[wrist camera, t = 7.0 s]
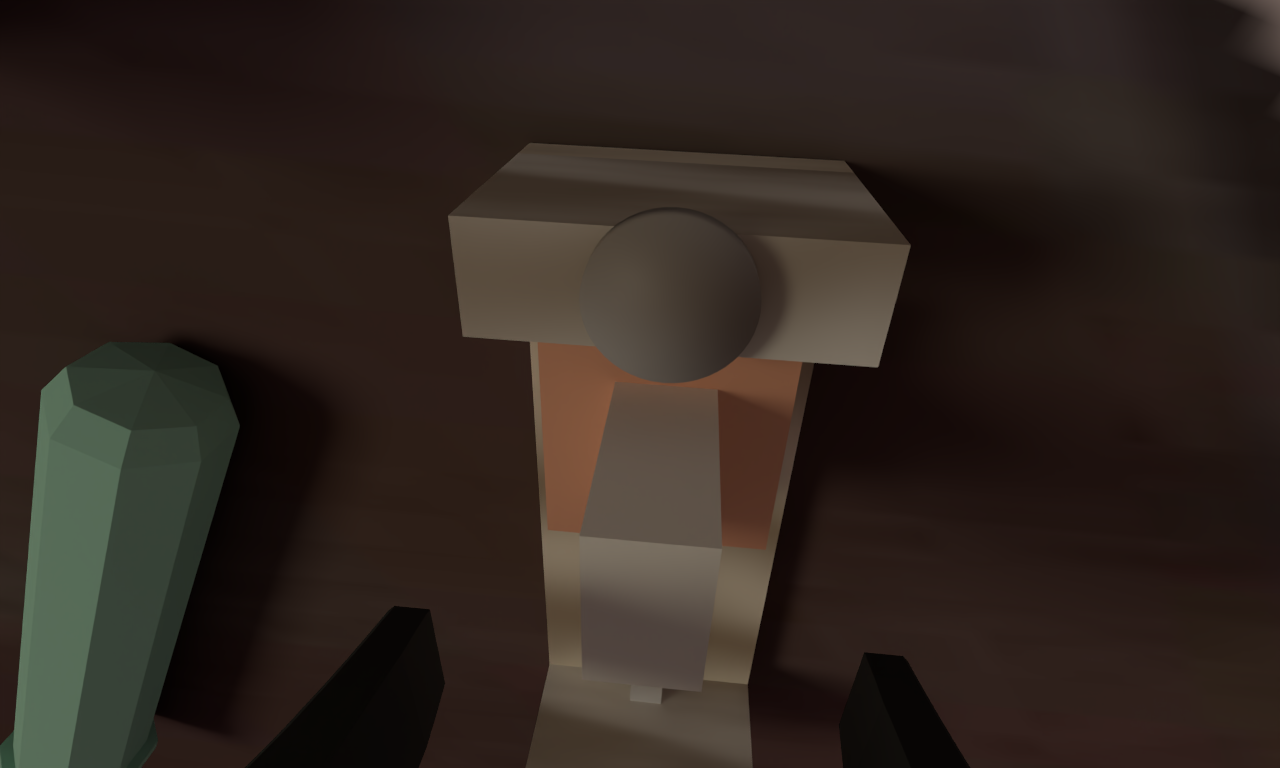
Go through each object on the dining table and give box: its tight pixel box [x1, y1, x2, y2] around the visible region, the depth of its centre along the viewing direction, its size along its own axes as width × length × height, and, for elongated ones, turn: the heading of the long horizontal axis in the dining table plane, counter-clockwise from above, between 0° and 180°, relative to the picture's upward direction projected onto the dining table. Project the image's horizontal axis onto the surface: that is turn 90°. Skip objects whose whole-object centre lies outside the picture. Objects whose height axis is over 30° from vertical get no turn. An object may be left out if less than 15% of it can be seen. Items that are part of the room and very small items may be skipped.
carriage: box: [538, 342, 802, 692], centre depth 15 cm, size 6×6×8 cm
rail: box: [448, 143, 911, 768], centre depth 19 cm, size 23×8×7 cm, turn 178°
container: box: [0, 342, 240, 768], centre depth 25 cm, size 6×6×25 cm
